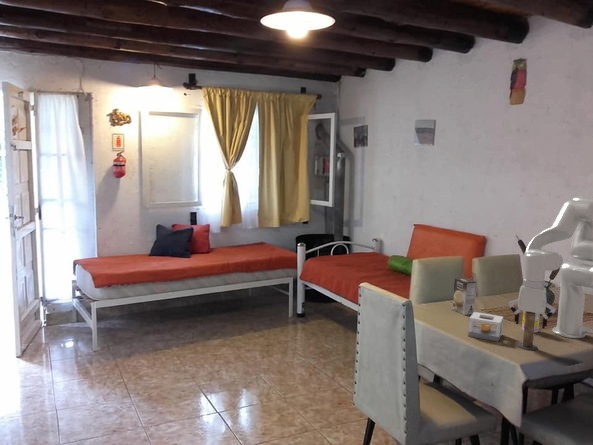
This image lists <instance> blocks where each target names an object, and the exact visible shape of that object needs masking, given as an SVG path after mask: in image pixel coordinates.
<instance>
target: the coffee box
mask: <svg viewBox="0 0 593 445" xmlns="http://www.w3.org/2000/svg"><path fill="white" fill-rule="evenodd" d="M453 285H454V286H453V297H452V299H453V300H452V310H453V311H455V312H456V313H458V314H462V315H464V316H465V315H466V316H468V315H472V314H473V313H474V312H475V306H476V305H475V304H476V303H475V302H476V293H477V292H476V290H477V281H475V280H473V279H470V278H467V277H457V278H454V284H453Z"/></svg>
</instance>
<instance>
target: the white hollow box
mask: <svg viewBox="0 0 593 445" xmlns="http://www.w3.org/2000/svg"><path fill="white" fill-rule="evenodd" d="M477 322H478V323H482V324H488V325H496V328H492V327H491V331H489V332H486V331H482V330H481V325H480V326H479V325H477ZM503 324H504V316H501V315H496V314H489V313H484V312H483V313H482V312H477V311H474V313H473V314H470V317H469V323H468V335H467V336H468V337H471V338H476V339H482V340H487V341H492V342H499V341H500V339H501V337H502V335H503Z"/></svg>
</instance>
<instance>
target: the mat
mask: <svg viewBox="0 0 593 445" xmlns="http://www.w3.org/2000/svg"><path fill="white" fill-rule="evenodd" d="M517 347H518V348H520V349H522V350H526V351H537V350H538V346H537V345H534V344H533V347H532V348H526V347H524V346H523V342H522V343H521V342H520V343H518V344H517Z"/></svg>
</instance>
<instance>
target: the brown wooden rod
mask: <svg viewBox="0 0 593 445" xmlns="http://www.w3.org/2000/svg"><path fill="white" fill-rule="evenodd" d="M534 324H535V313H532V312H525V324H524V330H523V336H522V337H523V338H522V343H523V346H524V347H526V348H532V347H533V345H534V335H535V333H534Z"/></svg>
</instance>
